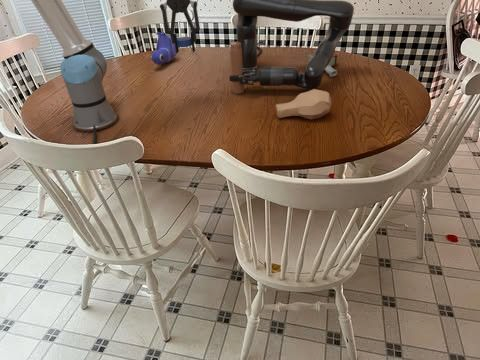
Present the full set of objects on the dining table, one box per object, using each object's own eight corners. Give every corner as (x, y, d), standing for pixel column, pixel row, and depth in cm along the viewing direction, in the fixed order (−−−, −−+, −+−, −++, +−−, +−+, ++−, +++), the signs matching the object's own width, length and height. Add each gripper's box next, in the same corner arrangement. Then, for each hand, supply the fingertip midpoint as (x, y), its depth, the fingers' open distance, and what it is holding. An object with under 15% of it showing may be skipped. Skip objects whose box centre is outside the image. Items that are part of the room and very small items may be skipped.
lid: (182, 42, 139) (181, 36, 138) (195, 43, 137) (194, 36, 136) (174, 46, 135) (173, 40, 133) (187, 47, 133) (186, 41, 131)
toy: (165, 64, 197) (145, 70, 175) (161, 31, 190) (139, 33, 168) (182, 63, 195) (163, 69, 172) (178, 30, 188) (158, 32, 166)
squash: (335, 120, 125) (335, 98, 118) (278, 130, 127) (276, 109, 120) (328, 102, 132) (328, 81, 126) (275, 112, 134) (272, 92, 128)
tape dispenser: (333, 81, 157) (348, 64, 170) (335, 70, 154) (350, 54, 166) (297, 74, 164) (314, 58, 177) (297, 63, 161) (315, 47, 174)
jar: (244, 93, 148) (241, 44, 137) (233, 94, 148) (229, 45, 137) (243, 89, 152) (240, 41, 141) (232, 90, 152) (228, 42, 140)
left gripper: (147, -13, 120) (160, 56, 134) (201, -18, 120) (209, 52, 134) (150, -16, 126) (162, 50, 140) (202, -21, 127) (209, 46, 140)
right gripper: (270, 92, 141) (228, 91, 143) (273, 78, 152) (234, 78, 155) (270, 73, 136) (226, 73, 139) (273, 61, 148) (233, 61, 150)
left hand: (185, 51), depth 137 cm, fingers closed on lid, 6 cm apart
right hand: (231, 76), depth 147 cm, fingers closed on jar, 4 cm apart
